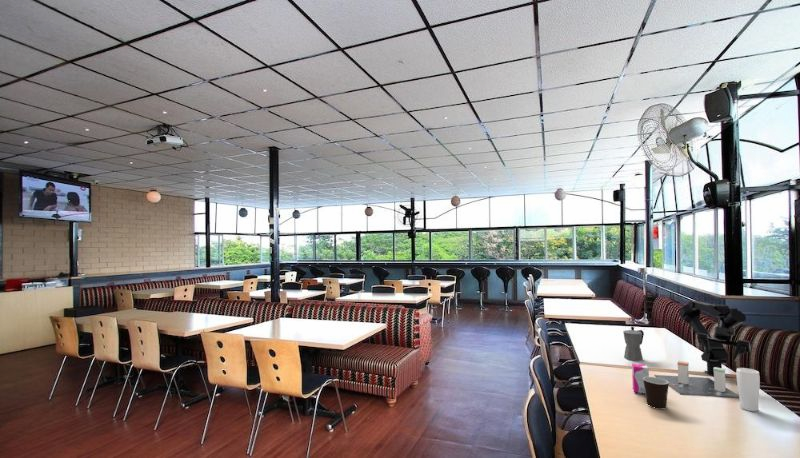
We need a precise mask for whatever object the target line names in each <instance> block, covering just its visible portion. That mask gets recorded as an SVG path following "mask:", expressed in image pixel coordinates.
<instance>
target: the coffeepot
mask: <svg viewBox="0 0 800 458" xmlns="http://www.w3.org/2000/svg"><path fill="white" fill-rule="evenodd" d="M622 332H623V338H624V343H625V345H626V346H625V350H624V354H623V355H624V356H623V358H624V359H625V360H627V361H633V362H642V361H643V359H644V357H643V354H642V350H641V345H642V344H643V340H644V336H645V332H644V331H643V330H642V329H639V330H638V329H637V330H635V327H634V326H631V327H630V329H627V330H625V329H624V330H623V331H622Z"/></svg>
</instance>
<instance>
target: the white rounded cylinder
mask: <svg viewBox="0 0 800 458" xmlns="http://www.w3.org/2000/svg"><path fill="white" fill-rule="evenodd" d="M760 379H761V378H760V372H759V371H758V370H756V369H753V368H746V367H737V368H736V385H737V389H738V395H739V398H738V399H739V407H740V408H741V409H742V410H745V411H747V412H753V413H754V412H758V411H759V403H760V402H759V400H760V399H759V397H760V389H761V388H760V386H761V384H760V382H761V380H760Z"/></svg>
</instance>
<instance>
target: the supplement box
mask: <svg viewBox="0 0 800 458" xmlns="http://www.w3.org/2000/svg"><path fill="white" fill-rule="evenodd" d="M647 365H648V364H640V363H631V371H632V373H631V377H632V378H631V380H632V390H634V391H633V392H635V393H634V394H637V393H641V394H640V395H645V388H644V381H643V378H644V377H650V371H649V370H650V368H649V367H648V366H647Z"/></svg>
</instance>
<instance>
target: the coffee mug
mask: <svg viewBox="0 0 800 458" xmlns="http://www.w3.org/2000/svg"><path fill="white" fill-rule="evenodd" d="M643 381H644V388H645V394H646V395H645V394H644V395H645V399H646V405H647V404H648V405H650V406H652V407H655V408H654V409H656V408H666V409H667V403H668V402H667V401H668V393H669V386H668V385H669V382H668V381H666V380H664V379H661V378H657V377H655V376H649V377H644V378H643ZM648 405H647V406H648ZM650 406H649V407H650ZM652 407H651V408H652Z"/></svg>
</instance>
